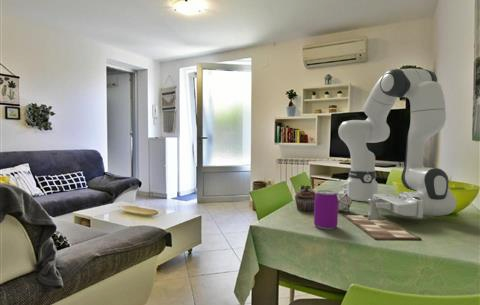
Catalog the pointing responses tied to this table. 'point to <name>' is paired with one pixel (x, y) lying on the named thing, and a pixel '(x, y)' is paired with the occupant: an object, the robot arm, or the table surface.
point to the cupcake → (305, 199)
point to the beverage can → (326, 209)
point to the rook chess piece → (373, 210)
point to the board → (381, 228)
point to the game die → (344, 202)
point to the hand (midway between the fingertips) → (371, 203)
